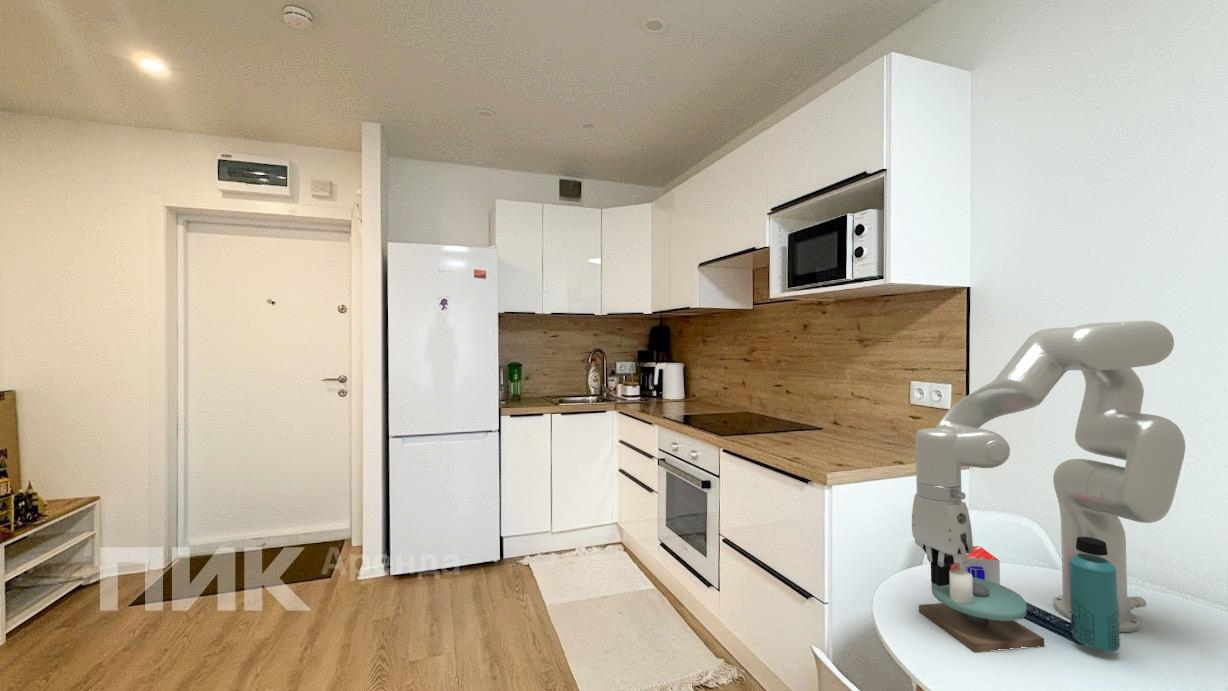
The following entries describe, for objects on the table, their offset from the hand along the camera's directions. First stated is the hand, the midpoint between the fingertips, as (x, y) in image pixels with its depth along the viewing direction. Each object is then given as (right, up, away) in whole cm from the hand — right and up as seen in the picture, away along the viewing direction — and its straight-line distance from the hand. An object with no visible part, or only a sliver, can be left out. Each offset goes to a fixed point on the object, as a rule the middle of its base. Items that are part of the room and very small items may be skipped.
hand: (940, 583), depth 98 cm
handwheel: (+6, -3, -1) cm, 7 cm away
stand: (+6, -8, -1) cm, 10 cm away
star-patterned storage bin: (+17, -9, +16) cm, 25 cm away
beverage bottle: (+22, -8, -9) cm, 25 cm away
